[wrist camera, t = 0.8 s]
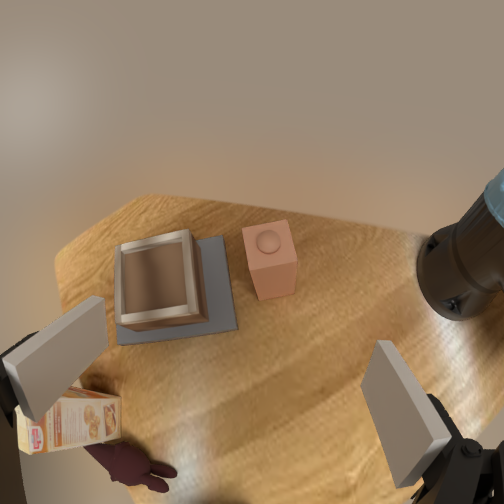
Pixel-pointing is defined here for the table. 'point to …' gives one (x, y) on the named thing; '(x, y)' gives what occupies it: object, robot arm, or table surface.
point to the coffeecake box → (71, 422)
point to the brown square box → (159, 283)
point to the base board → (216, 296)
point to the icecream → (131, 465)
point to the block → (271, 259)
